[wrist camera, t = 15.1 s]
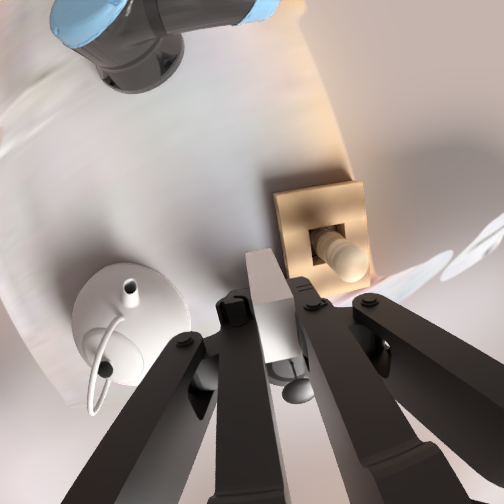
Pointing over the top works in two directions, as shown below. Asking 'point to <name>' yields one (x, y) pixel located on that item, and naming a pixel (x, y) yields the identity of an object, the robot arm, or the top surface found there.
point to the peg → (340, 254)
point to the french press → (291, 379)
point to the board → (315, 216)
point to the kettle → (125, 323)
